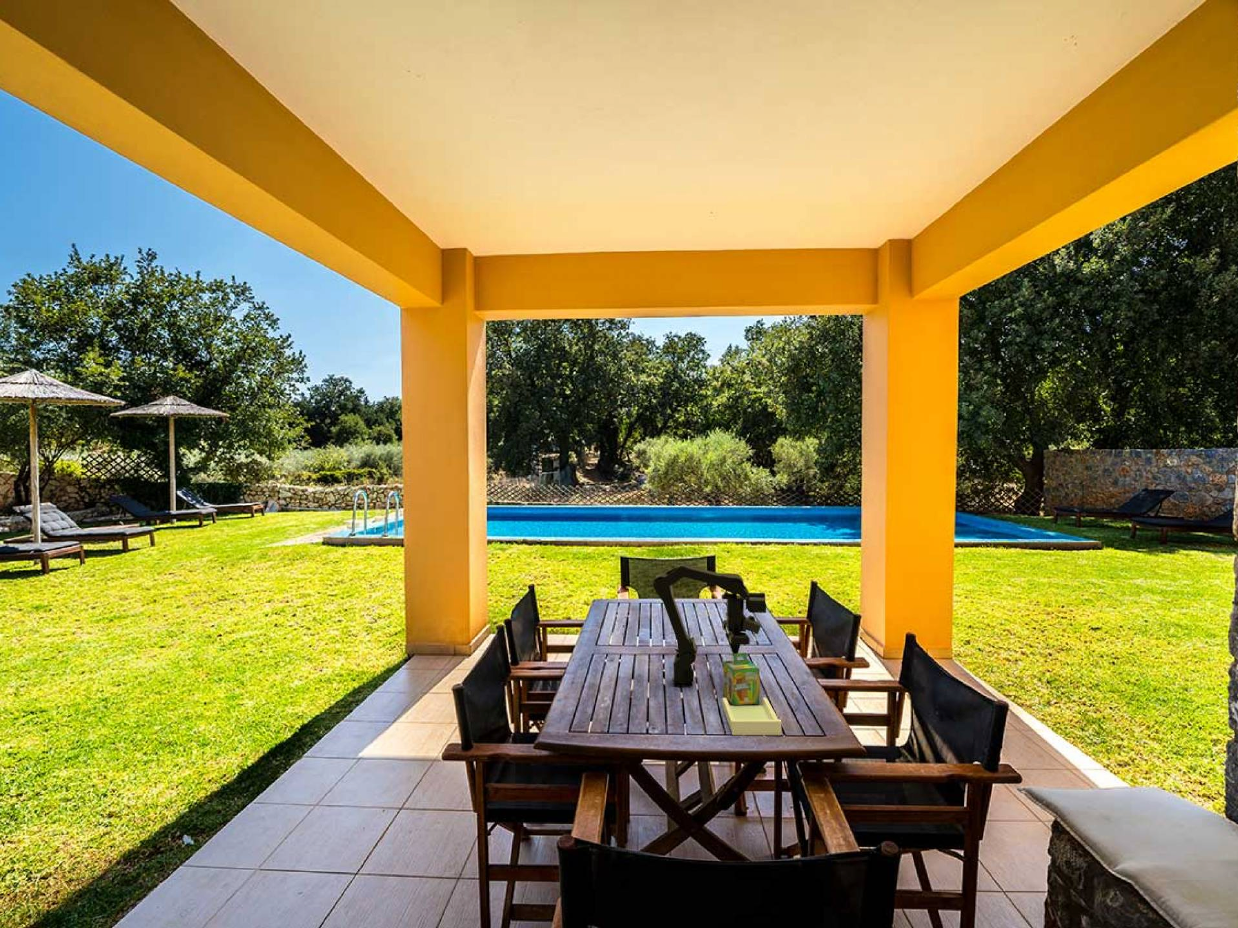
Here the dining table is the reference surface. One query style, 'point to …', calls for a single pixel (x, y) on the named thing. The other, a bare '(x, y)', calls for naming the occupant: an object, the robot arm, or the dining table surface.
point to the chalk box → (741, 681)
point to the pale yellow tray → (752, 719)
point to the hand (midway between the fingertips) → (735, 656)
